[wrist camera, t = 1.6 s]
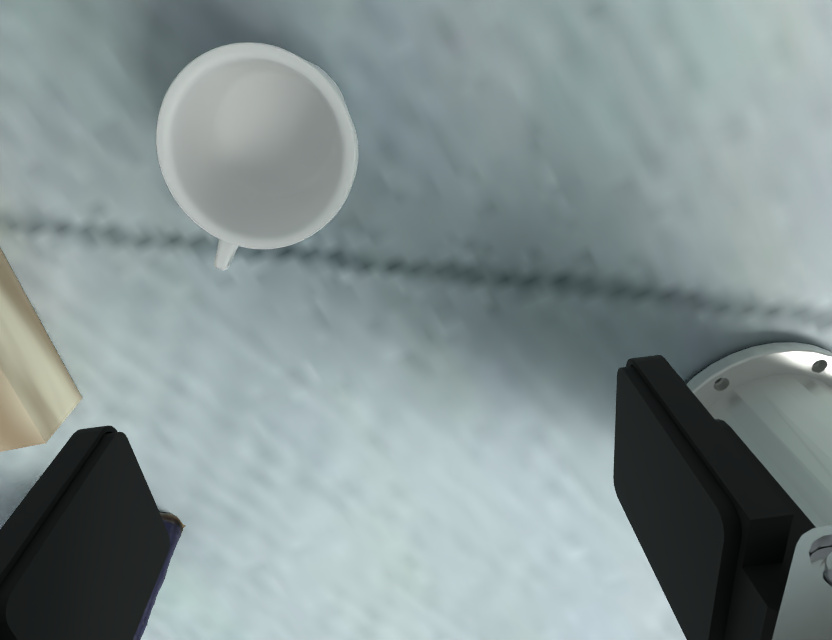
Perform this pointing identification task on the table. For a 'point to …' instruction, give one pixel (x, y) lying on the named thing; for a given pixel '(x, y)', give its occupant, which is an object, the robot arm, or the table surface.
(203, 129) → the teacup
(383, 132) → the table surface
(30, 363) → the wooden bar
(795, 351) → the robot arm
